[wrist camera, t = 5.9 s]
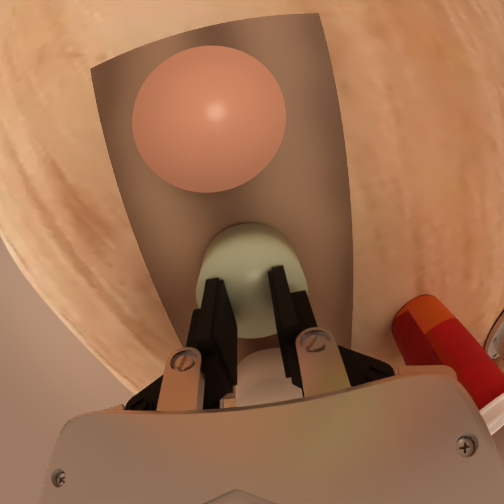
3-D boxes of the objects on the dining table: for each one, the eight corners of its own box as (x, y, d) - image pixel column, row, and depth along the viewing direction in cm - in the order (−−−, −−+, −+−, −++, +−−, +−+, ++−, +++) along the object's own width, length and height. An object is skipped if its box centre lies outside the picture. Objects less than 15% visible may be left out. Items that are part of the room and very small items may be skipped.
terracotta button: (263, 51, 9) (269, 33, 7) (285, 163, 12) (297, 176, 9) (145, 80, 10) (119, 72, 7) (171, 188, 12) (153, 207, 10)
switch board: (306, 29, 12) (318, 13, 10) (339, 353, 24) (348, 377, 21) (113, 74, 13) (90, 68, 10) (214, 374, 25) (212, 400, 22)
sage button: (291, 214, 14) (302, 237, 11) (302, 296, 16) (311, 328, 14) (191, 234, 14) (181, 260, 12) (216, 311, 17) (213, 344, 14)
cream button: (308, 341, 17) (317, 375, 14) (312, 386, 19) (318, 416, 17) (227, 354, 17) (225, 389, 14) (244, 397, 19) (245, 427, 17)
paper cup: (401, 356, 25) (451, 464, 13) (367, 327, 23) (426, 466, 10) (456, 307, 23) (525, 406, 10) (432, 268, 20) (529, 387, 8)
